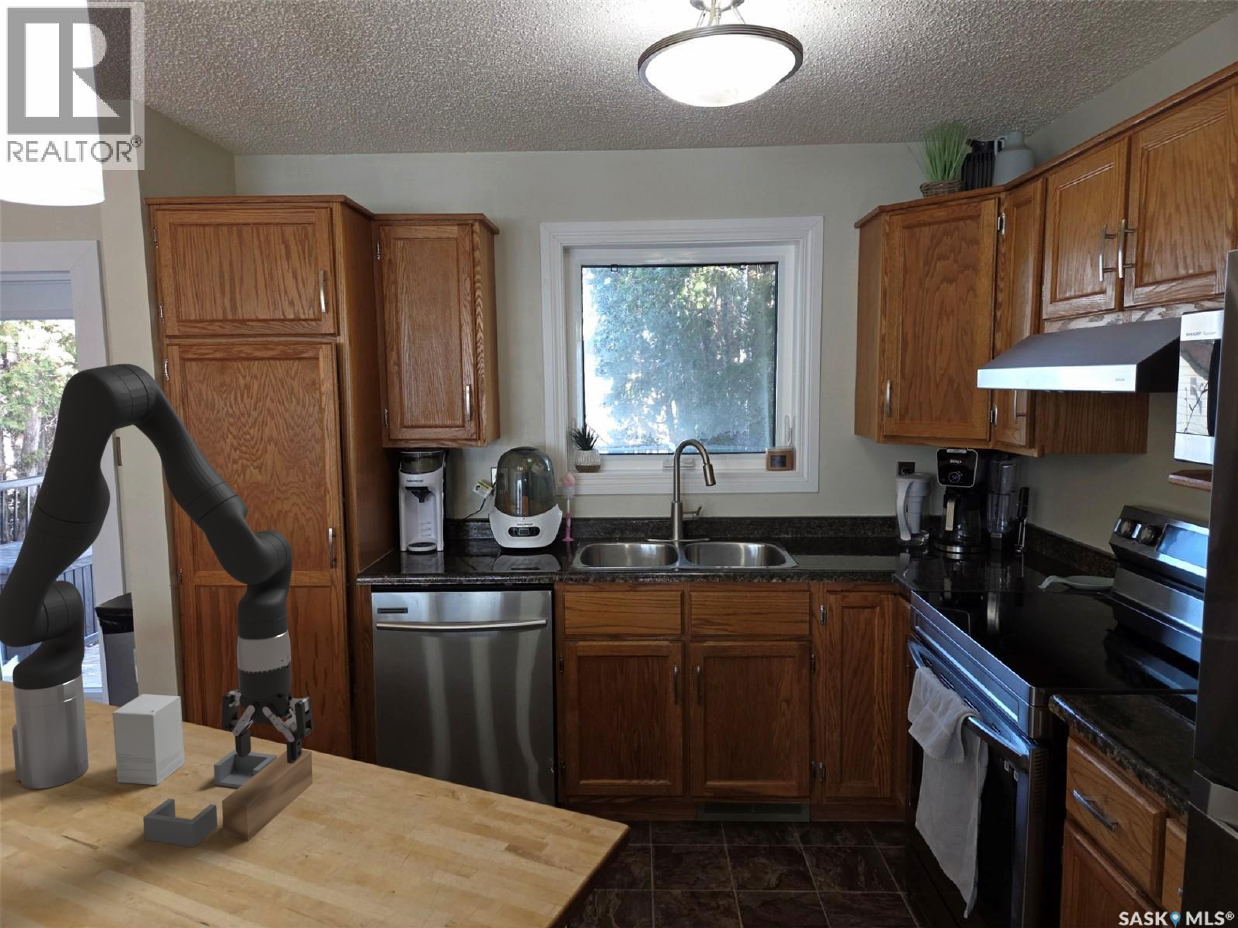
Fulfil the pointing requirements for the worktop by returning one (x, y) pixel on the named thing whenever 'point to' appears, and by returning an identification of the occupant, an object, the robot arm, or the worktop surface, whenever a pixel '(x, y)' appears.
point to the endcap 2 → (240, 768)
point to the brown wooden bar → (265, 796)
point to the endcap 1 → (178, 825)
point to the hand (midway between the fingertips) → (269, 758)
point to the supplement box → (148, 739)
